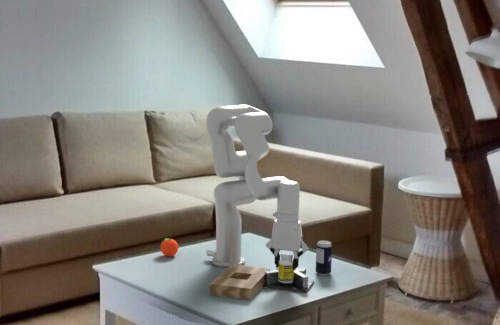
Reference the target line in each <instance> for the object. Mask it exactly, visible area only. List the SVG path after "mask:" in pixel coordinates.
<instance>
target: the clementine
mask: <svg viewBox="0 0 500 325" xmlns="http://www.w3.org/2000/svg"><path fill="white" fill-rule="evenodd" d="M160 243H161V244H160V251H161V253H162V254H163V255H164V256H166V257H173V256H175V255H176V254H177V253H178V251H179V244H178V242H177V241H176V239H175V240H174V239H172V238H167V237H166V238H164V239H162V240H161V242H160Z"/></svg>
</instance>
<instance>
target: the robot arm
mask: <svg viewBox="0 0 500 325" xmlns="http://www.w3.org/2000/svg"><path fill="white" fill-rule="evenodd" d="M205 123H206V130H207V134H208V137H209V139H210V144H211V151H212V152H211V153H212V160H213V168H214V171H215V174H216V176H217V177H218V178H222V179H229V178H236V177H238V180H237V179H236V180H229V181H227V180H226V181H224V182H223V181H222V182H221V183H218V184H217V185H216V186H215V187H214V189H213V199H214V204H215V216H216V217H215V219H216V222H215V224H216V228H215V229H216V230H215V231H216V232H215V236H216V238H215V239H216V242H215V244H216V246H215V249H214V250H213V249H206V251H205V253H206V255H207V257H213V258H211V263H212V264H213V265H214V266H216V267H220V268H228V267H229V266H230V265H232V264H233V265H242V266H244V264H246V259H245V258H244V257H242V216H241V212H239V210H238V208H237V207H239V206H242V205H243V206H244V205H248V204H253V203H254V202H255V201H257V200H258V201H266V200H272V199H276V200H277V202H276V211H274V212H273V213H272V217H275V218H276V219H274V221H273V225H272V232H271V239H269V241H267V242H266V244H265V247H266V248H268V249H269V251H270V252H271V253H272V255H273V256H274V265H275V269H276V268H278V267H279V260H280V259H281V254H280V251H286V252H292V254H293V255H294V257H293V258H292V260H293V270H295V269H296V268H297V267H299V258H301V256H302V255H303V254H305V253H306V252H307V251H308V250H309V247H308V246H307V244H306V243H305V242H304V241H303V230H302V228H303V227H302V222H301V220H299V218H300V196H301V194H300V191H301V190H300V188H301V187H300V183H299V182H298V181H295V180H290V179H288V178H286V177H285V176H282V175H281V176H280V175H278V176H271V177H263V178H262V177H261V175H260V173H259V171H258V161H260V160H262V158H265V157H266V156H267V155H268V153H269V152H270V145H269V143H268V142H267V139H266V137H265V136H266V135H269V134H270V133H271V132H272V130H273V124H274V123H273V120H272V118H271V116H270V115H269V114H268V113H267V112H265V111H263V110H261V109H259V108H256V107H254V106H251V105H249V104H238V105H237V104H235V105H233V104H232V105H221V106H216V107H214V108H212V109H211V110H209V112H208V114H207V116H206V121H205ZM228 129H235V131H236V134H237V136H238V138H239V140H240V143H241V146H242V147H243V150H238V151H237V150H236V147H235V141H234V138H233V137H232V135H231V133H230V132H229V131H228ZM301 248H302V249H301Z"/></svg>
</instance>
